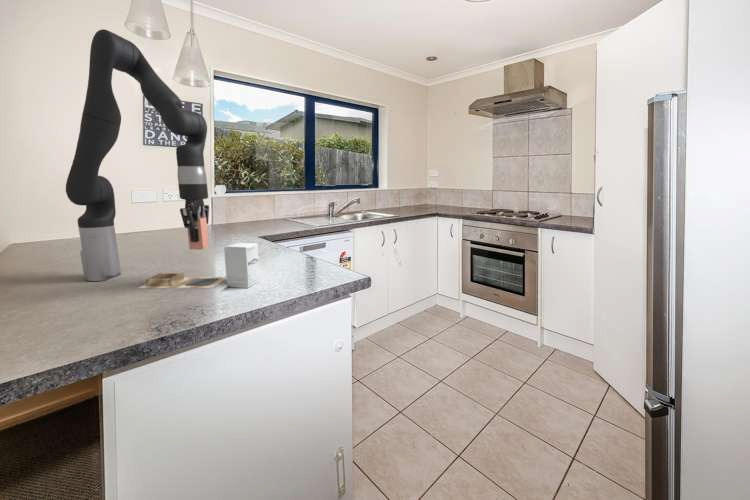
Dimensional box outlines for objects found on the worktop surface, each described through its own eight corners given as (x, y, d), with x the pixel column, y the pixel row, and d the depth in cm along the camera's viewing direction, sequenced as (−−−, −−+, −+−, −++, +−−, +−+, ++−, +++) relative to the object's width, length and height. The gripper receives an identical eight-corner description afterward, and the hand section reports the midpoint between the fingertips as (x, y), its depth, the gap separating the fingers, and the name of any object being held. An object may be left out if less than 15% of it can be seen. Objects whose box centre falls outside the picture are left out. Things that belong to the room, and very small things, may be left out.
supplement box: (248, 288, 108) (245, 247, 106) (226, 287, 110) (222, 246, 107) (260, 281, 115) (258, 243, 113) (239, 280, 117) (236, 242, 114)
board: (137, 291, 105) (135, 281, 105) (158, 280, 116) (157, 271, 116) (213, 290, 106) (212, 280, 105) (227, 280, 117) (226, 271, 116)
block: (189, 249, 107) (186, 219, 105) (195, 246, 111) (192, 217, 109) (203, 249, 107) (200, 219, 105) (208, 246, 111) (206, 217, 109)
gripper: (194, 182, 98) (200, 244, 102) (215, 182, 112) (220, 236, 116) (166, 182, 98) (173, 244, 101) (191, 182, 112) (196, 236, 115)
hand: (198, 240), depth 109 cm, fingers closed on block, 4 cm apart
